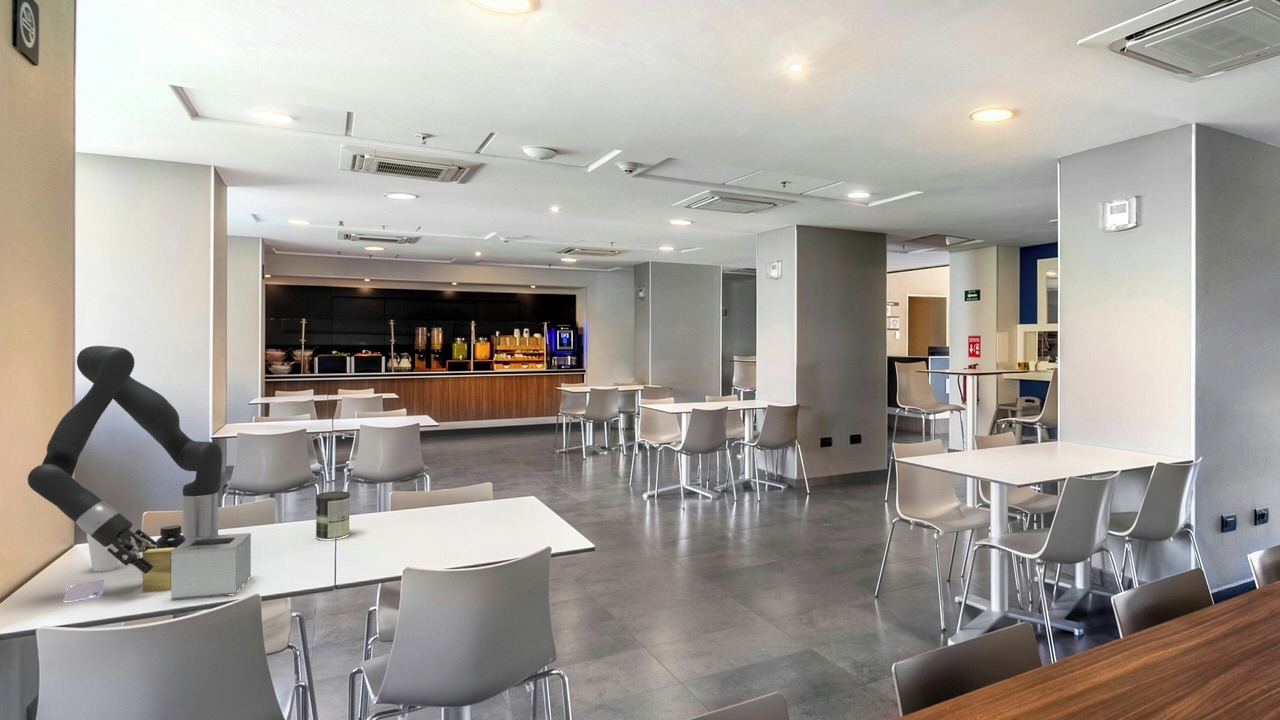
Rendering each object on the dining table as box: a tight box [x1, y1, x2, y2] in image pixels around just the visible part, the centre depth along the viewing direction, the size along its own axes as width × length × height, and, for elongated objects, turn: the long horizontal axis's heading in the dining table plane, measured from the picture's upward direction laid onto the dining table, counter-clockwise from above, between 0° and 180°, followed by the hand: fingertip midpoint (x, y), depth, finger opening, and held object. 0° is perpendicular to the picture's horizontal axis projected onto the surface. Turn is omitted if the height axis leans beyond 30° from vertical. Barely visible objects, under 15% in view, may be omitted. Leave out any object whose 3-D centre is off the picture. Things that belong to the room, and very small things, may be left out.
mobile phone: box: [62, 579, 105, 601], centre depth 172 cm, size 8×1×15 cm
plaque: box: [142, 548, 175, 593], centre depth 174 cm, size 4×6×10 cm, turn 106°
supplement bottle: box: [155, 525, 185, 549], centre depth 189 cm, size 7×7×12 cm
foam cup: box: [86, 533, 119, 573], centre depth 190 cm, size 8×8×11 cm
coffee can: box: [315, 490, 351, 539], centre depth 225 cm, size 10×10×14 cm
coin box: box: [170, 532, 252, 601], centre depth 175 cm, size 14×14×12 cm
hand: (156, 565), depth 174 cm, fingers open, 8 cm apart
